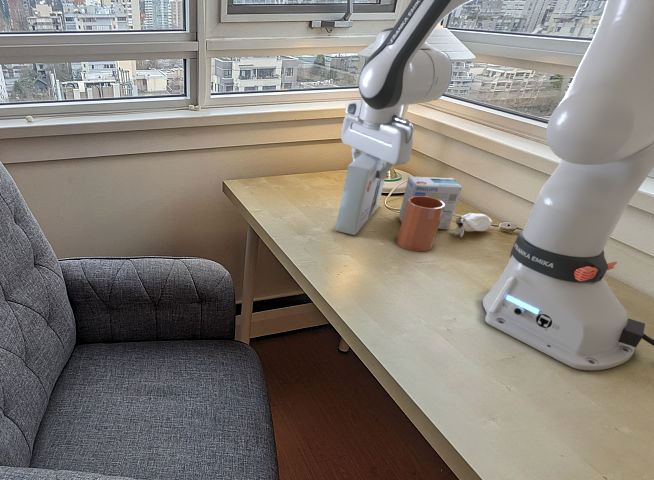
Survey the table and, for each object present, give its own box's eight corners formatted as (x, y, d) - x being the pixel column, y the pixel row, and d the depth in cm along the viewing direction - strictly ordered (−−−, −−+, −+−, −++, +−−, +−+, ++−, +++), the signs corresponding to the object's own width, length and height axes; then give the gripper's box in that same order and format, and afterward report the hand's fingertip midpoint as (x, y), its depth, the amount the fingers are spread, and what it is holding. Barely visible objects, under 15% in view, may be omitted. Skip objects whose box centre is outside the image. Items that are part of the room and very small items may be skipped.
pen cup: (439, 248, 106) (452, 205, 101) (413, 253, 104) (425, 210, 98) (415, 234, 112) (426, 193, 106) (389, 239, 109) (400, 198, 104)
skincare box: (357, 236, 110) (370, 168, 102) (334, 231, 113) (344, 165, 104) (380, 207, 125) (393, 145, 117) (360, 203, 128) (371, 142, 119)
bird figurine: (470, 246, 110) (497, 227, 113) (469, 220, 106) (497, 201, 109) (450, 242, 114) (477, 223, 117) (449, 216, 110) (477, 198, 113)
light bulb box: (440, 218, 119) (453, 176, 113) (449, 230, 114) (464, 186, 108) (396, 216, 120) (407, 175, 114) (403, 228, 115) (415, 184, 109)
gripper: (427, 120, 98) (410, 185, 106) (363, 101, 114) (352, 159, 121) (402, 123, 96) (387, 189, 104) (341, 103, 112) (331, 161, 119)
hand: (368, 172), depth 113 cm, fingers open, 7 cm apart
